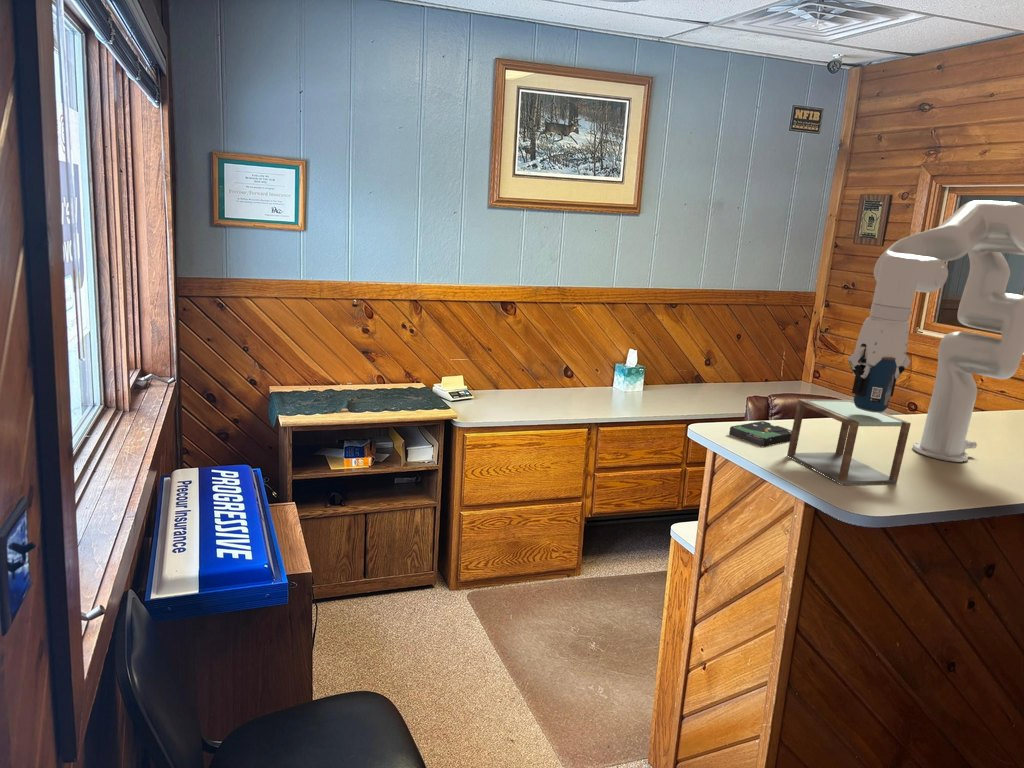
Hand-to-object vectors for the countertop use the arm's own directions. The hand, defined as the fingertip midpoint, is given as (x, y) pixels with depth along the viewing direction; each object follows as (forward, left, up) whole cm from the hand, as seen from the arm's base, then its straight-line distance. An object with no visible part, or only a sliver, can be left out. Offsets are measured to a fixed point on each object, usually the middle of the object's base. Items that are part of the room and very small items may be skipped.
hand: (872, 394), depth 165 cm
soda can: (0, 0, -4) cm, 4 cm away
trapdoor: (0, -4, -6) cm, 7 cm away
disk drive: (+5, -27, -20) cm, 34 cm away
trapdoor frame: (0, -4, -19) cm, 20 cm away
